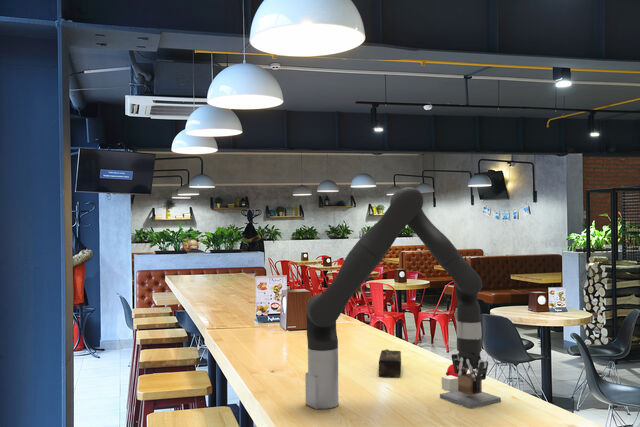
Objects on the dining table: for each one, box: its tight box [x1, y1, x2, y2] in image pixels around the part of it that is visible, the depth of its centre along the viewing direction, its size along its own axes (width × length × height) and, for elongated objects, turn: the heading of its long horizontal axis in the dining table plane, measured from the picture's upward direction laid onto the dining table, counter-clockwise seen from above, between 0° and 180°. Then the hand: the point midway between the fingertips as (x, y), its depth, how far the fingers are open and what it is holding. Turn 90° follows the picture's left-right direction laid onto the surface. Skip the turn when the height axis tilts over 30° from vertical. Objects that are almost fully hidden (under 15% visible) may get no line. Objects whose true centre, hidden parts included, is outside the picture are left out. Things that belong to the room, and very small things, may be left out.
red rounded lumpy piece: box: [445, 363, 458, 377], centre depth 207 cm, size 8×6×6 cm
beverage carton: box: [378, 348, 402, 379], centre depth 224 cm, size 8×19×7 cm, turn 171°
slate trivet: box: [439, 390, 502, 409], centre depth 187 cm, size 13×13×1 cm
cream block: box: [441, 375, 458, 392], centre depth 199 cm, size 4×4×4 cm
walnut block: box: [458, 372, 483, 395], centre depth 187 cm, size 5×5×5 cm
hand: (469, 390), depth 187 cm, fingers closed on walnut block, 4 cm apart
